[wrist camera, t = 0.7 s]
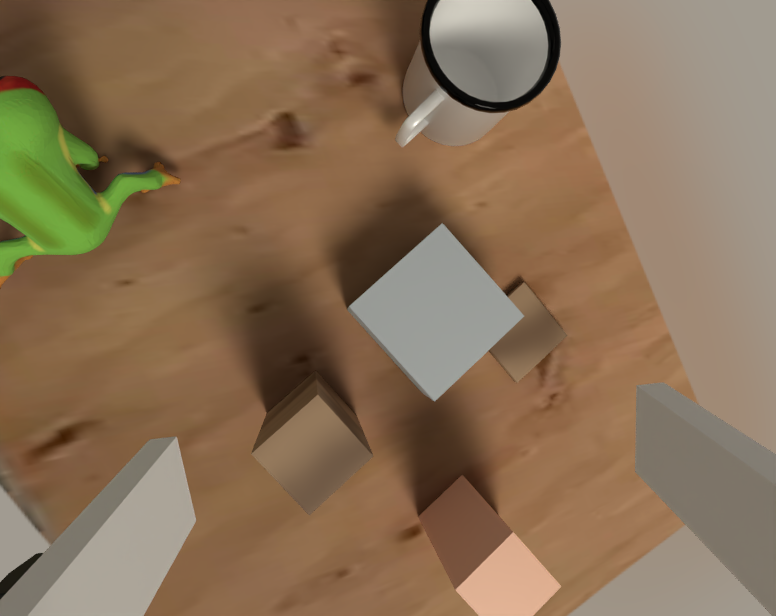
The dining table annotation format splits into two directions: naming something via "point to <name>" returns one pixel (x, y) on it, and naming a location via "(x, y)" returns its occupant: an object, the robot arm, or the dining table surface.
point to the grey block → (436, 312)
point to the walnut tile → (527, 335)
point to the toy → (53, 181)
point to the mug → (477, 66)
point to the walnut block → (311, 443)
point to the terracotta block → (485, 555)
